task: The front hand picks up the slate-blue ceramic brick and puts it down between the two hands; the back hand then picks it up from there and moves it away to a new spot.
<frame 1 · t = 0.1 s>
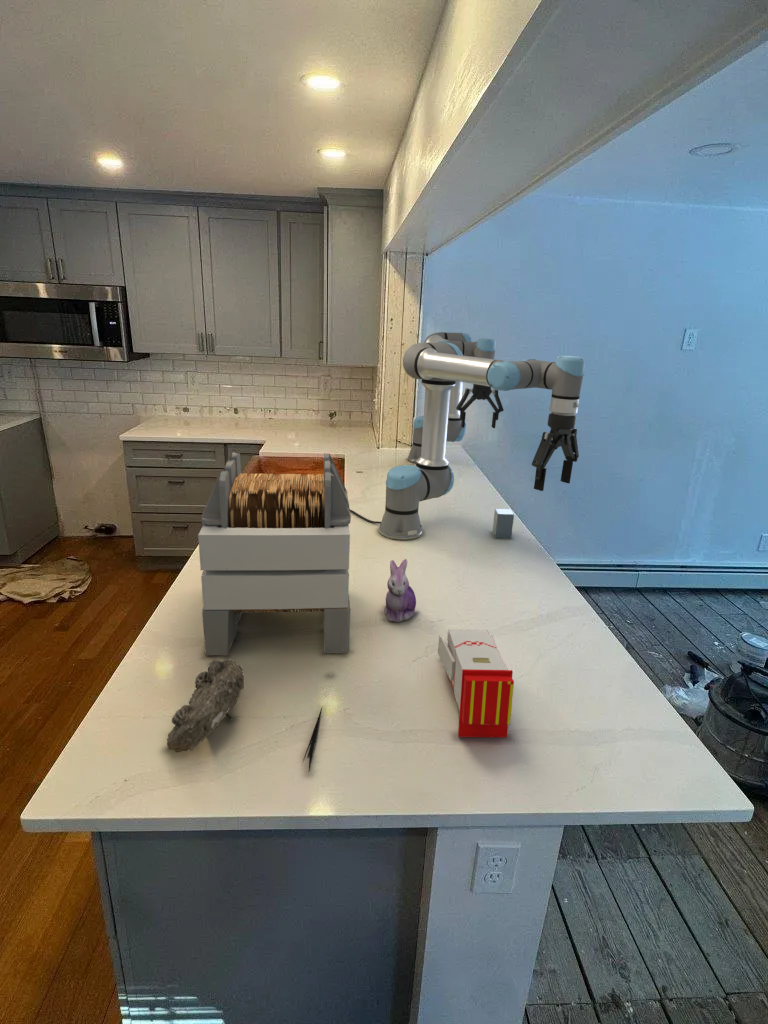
front hand: (552, 486, 166), 28 cm above the counter, tool pointing down, fingers open, 13 cm apart
back hand: (478, 427, 244), 28 cm above the counter, tool pointing down, fingers open, 13 cm apart
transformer: (282, 618, 143), on the counter
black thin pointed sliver: (319, 719, 109), on the counter
brick: (501, 535, 202), on the counter
figurine: (399, 614, 147), on the counter
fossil: (212, 717, 108), on the counter
toy: (469, 691, 119), on the counter
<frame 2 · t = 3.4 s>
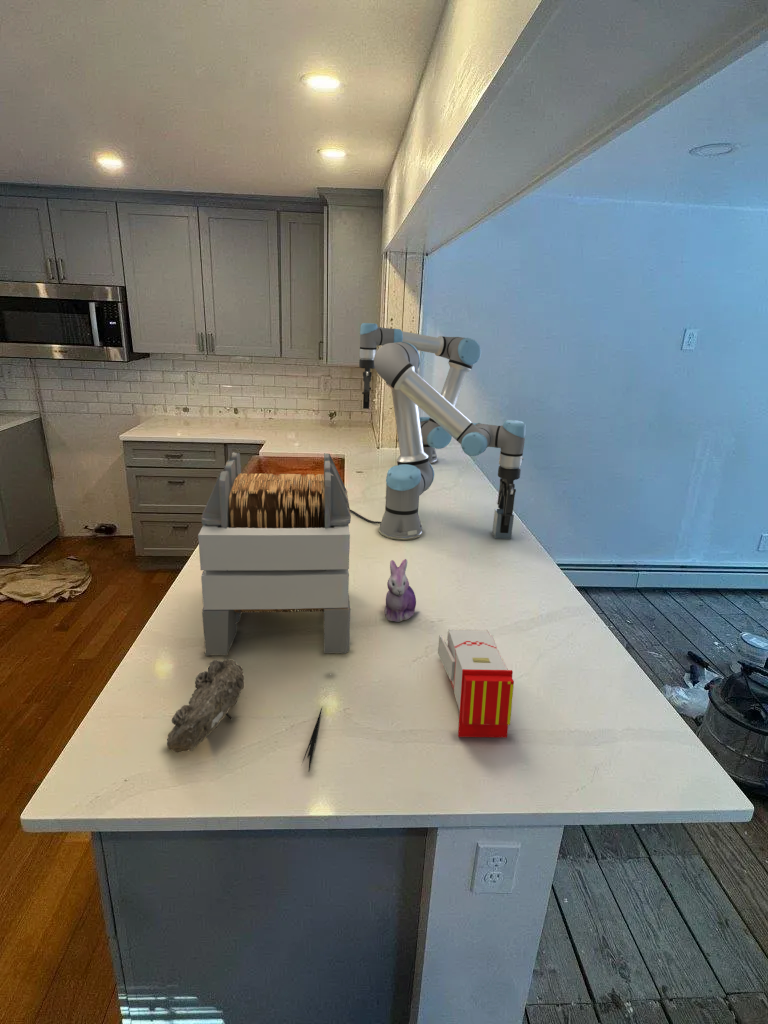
front hand: (502, 529, 202), 3 cm above the counter, tool pointing down, fingers closed on brick, 5 cm apart
back hand: (366, 406, 263), 31 cm above the counter, tool pointing down, fingers open, 13 cm apart
brick: (501, 535, 202), on the counter, touching front hand
everything else where it was.
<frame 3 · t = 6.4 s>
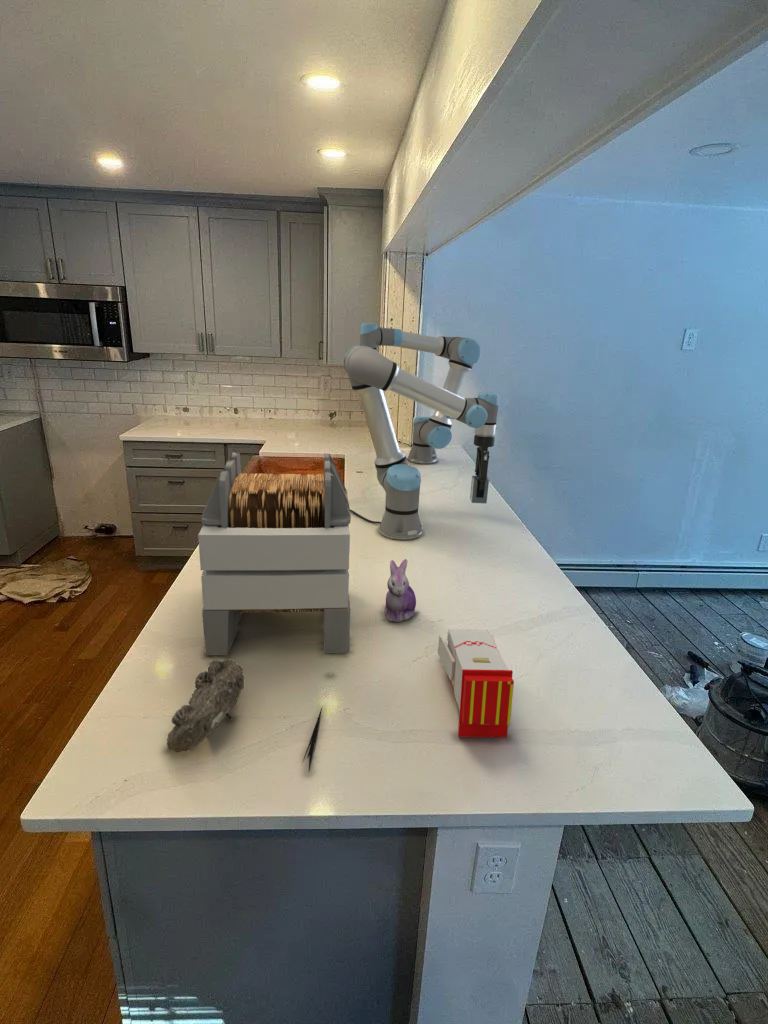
front hand: (478, 494, 217), 9 cm above the counter, tool pointing down, fingers closed on brick, 5 cm apart
back hand: (366, 406, 263), 31 cm above the counter, tool pointing down, fingers open, 13 cm apart
brick: (478, 500, 218), point 7 cm above the counter, touching front hand
everything else where it was.
when the front hand's fingers open (4 cm above the counter, at t = 9.6 s): brick drops 2 cm, on the counter.
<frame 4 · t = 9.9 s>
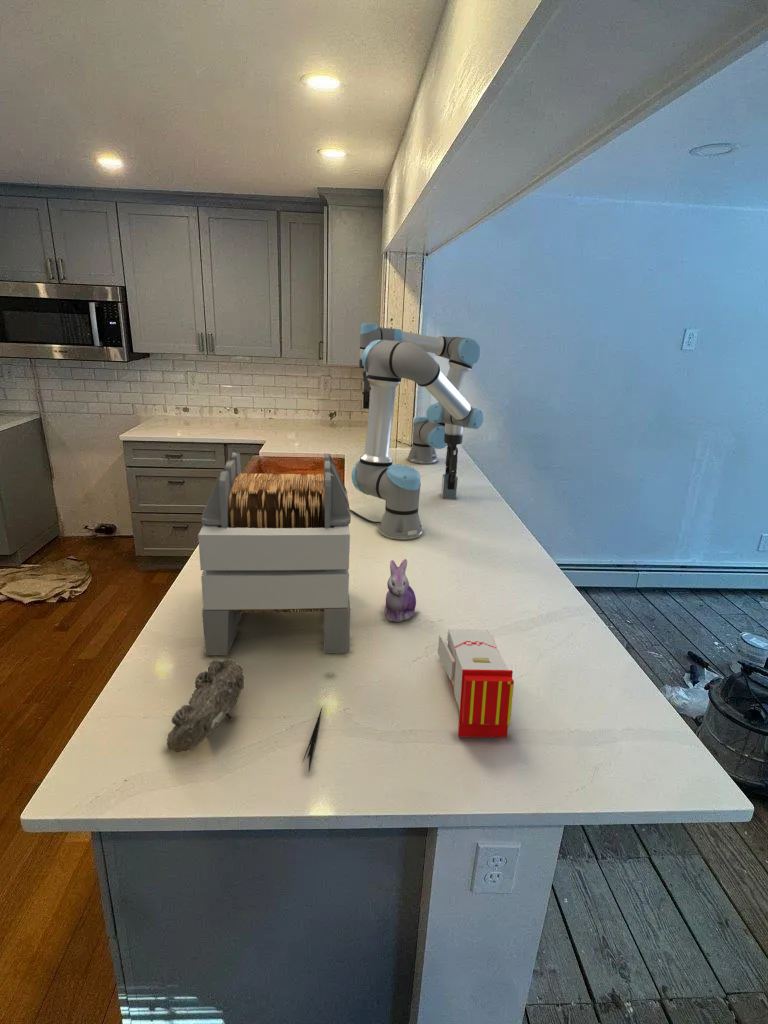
front hand: (449, 485, 241), 5 cm above the counter, tool pointing down, fingers open, 9 cm apart
back hand: (366, 406, 263), 31 cm above the counter, tool pointing down, fingers open, 13 cm apart
brick: (448, 496, 242), on the counter
everything else where it was.
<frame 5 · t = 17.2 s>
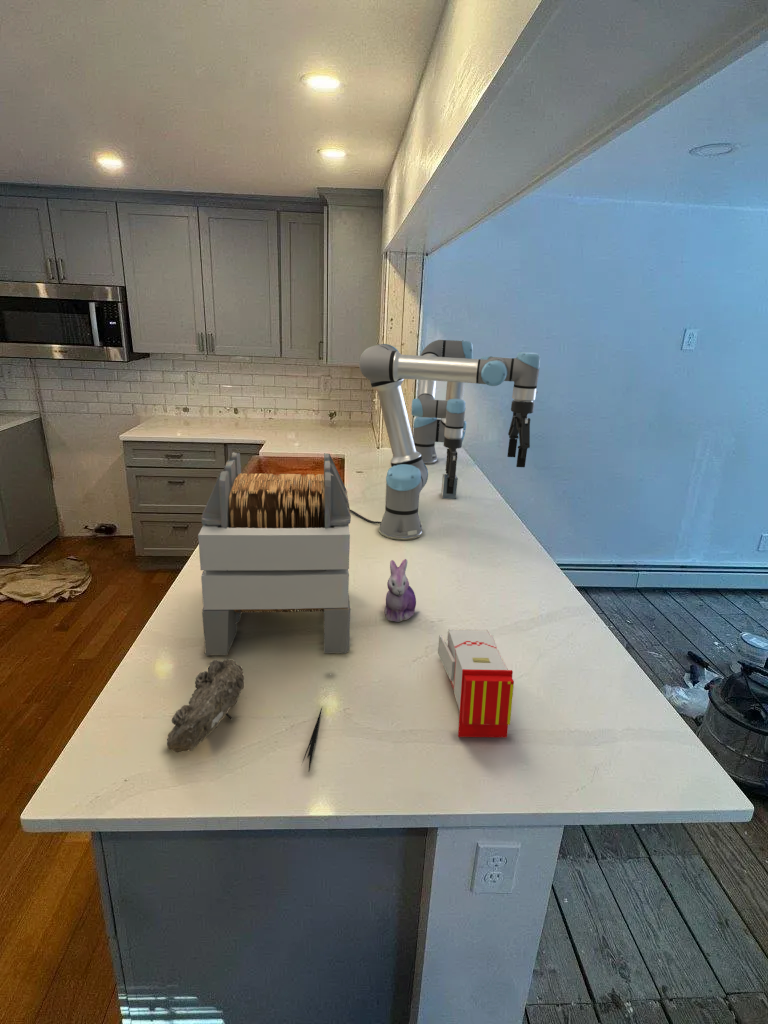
front hand: (515, 461, 197), 26 cm above the counter, tool pointing down, fingers open, 13 cm apart
back hand: (448, 491, 241), 3 cm above the counter, tool pointing down, fingers closed on brick, 5 cm apart
brick: (448, 496, 242), on the counter, touching back hand
everything else where it was.
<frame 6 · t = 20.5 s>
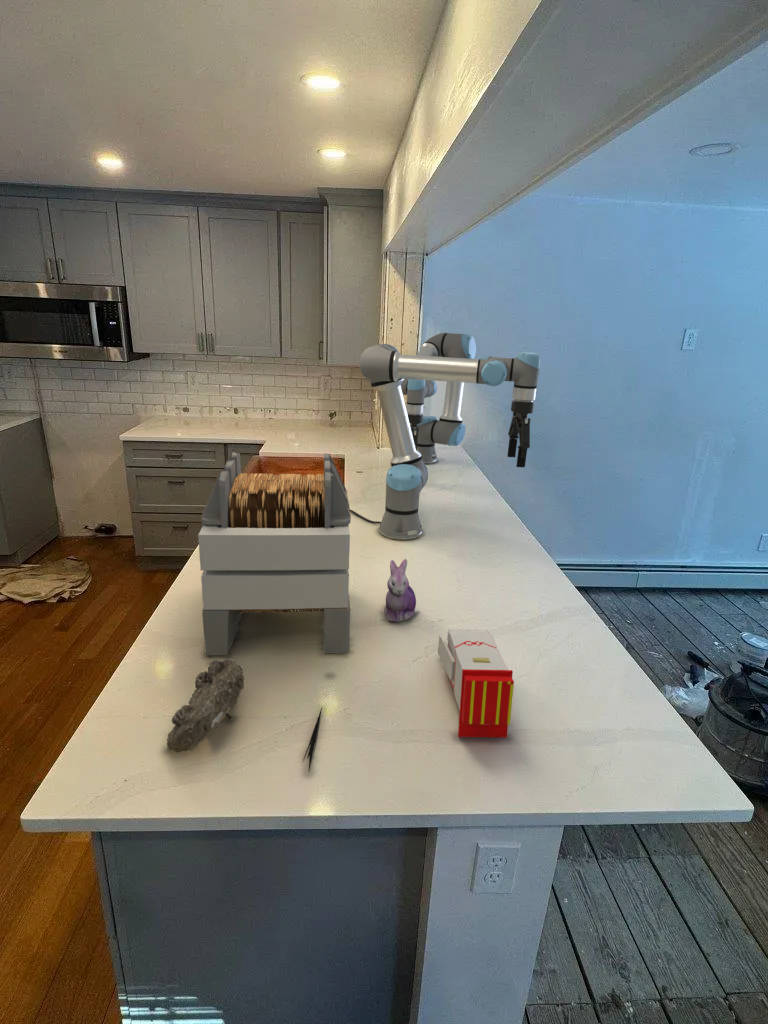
front hand: (515, 461, 197), 26 cm above the counter, tool pointing down, fingers open, 13 cm apart
back hand: (411, 464, 256), 9 cm above the counter, tool pointing down, fingers closed on brick, 5 cm apart
brick: (411, 470, 257), point 6 cm above the counter, touching back hand
everything else where it was.
when the back hand's fingers open (4 cm above the counter, at t = 24.2 s): brick drops 2 cm, on the counter.
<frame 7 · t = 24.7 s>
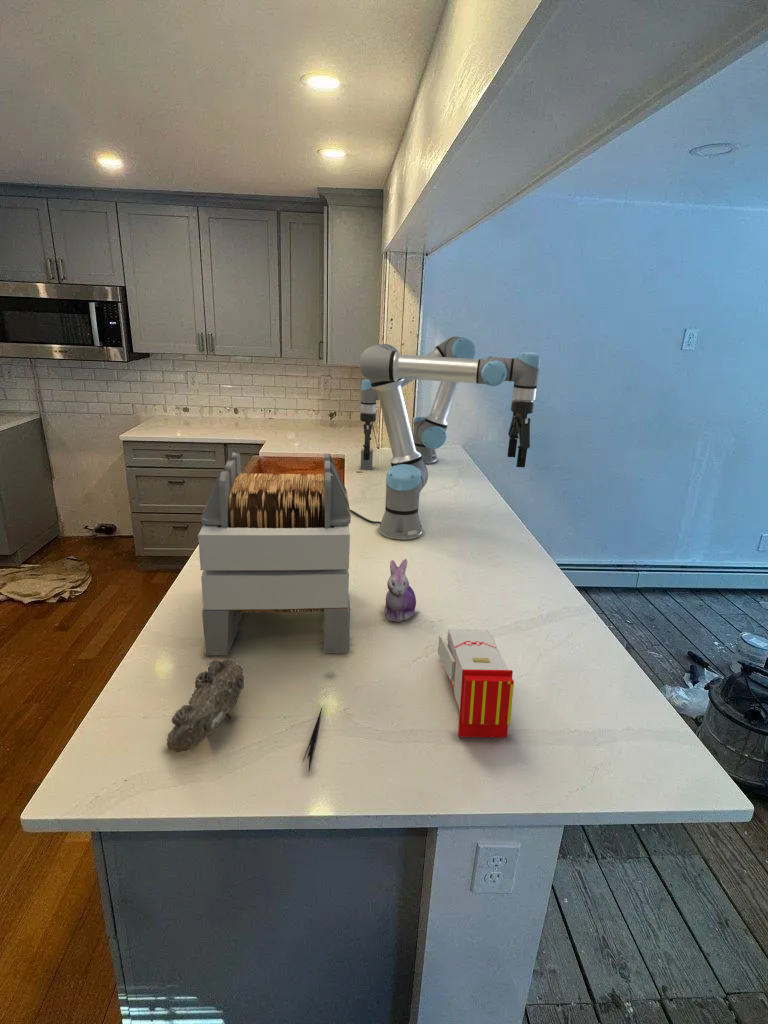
front hand: (515, 461, 197), 26 cm above the counter, tool pointing down, fingers open, 13 cm apart
back hand: (366, 456, 278), 6 cm above the counter, tool pointing down, fingers open, 12 cm apart
brick: (366, 468, 280), on the counter
everything else where it was.
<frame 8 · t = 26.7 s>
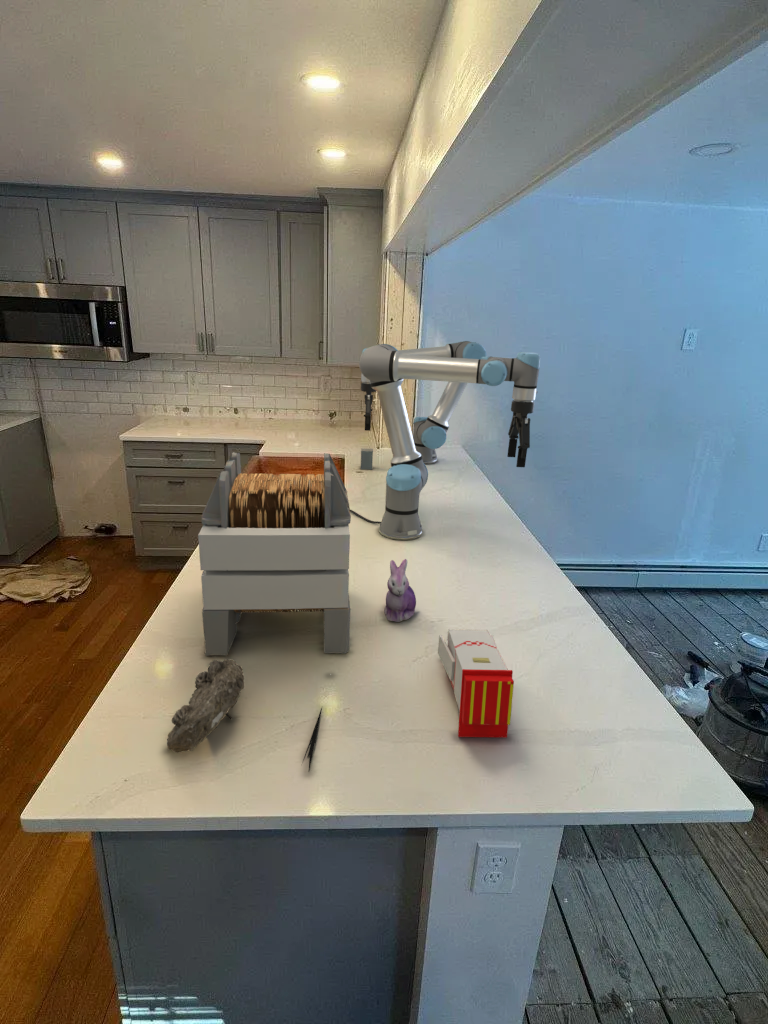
front hand: (515, 461, 197), 26 cm above the counter, tool pointing down, fingers open, 13 cm apart
back hand: (367, 427, 273), 20 cm above the counter, tool pointing down, fingers open, 13 cm apart
nothing on the counter moved.
at the end: brick inside the target area (0.0 cm from its centre), on the counter; brick tilted 0°; the two hands never held the brick at the same time; the front hand is holding nothing; the back hand is holding nothing; brick at rest at the end (0.0 cm/s) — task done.
